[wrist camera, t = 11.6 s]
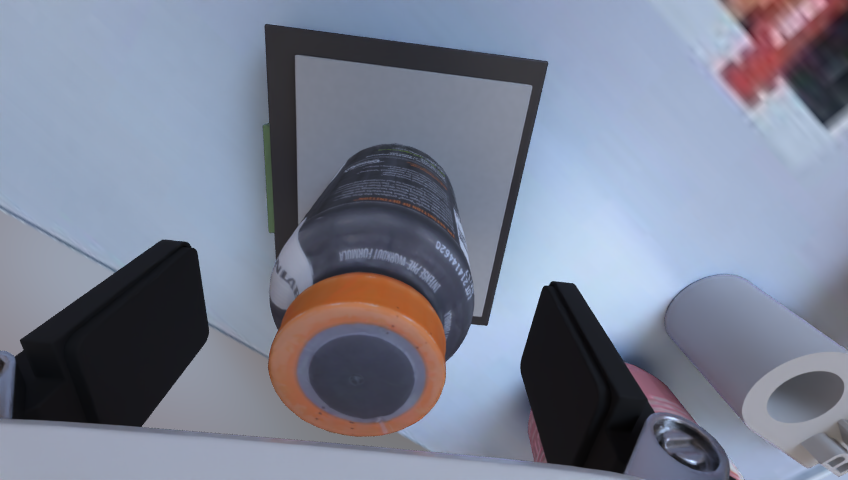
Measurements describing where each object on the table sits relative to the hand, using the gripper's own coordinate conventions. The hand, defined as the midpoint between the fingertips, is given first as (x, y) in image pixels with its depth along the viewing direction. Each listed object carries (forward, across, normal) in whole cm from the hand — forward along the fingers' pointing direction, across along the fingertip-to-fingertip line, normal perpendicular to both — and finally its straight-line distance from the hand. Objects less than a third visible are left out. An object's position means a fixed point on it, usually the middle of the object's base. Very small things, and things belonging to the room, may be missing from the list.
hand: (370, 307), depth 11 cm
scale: (+12, 0, 0) cm, 12 cm away
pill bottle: (+9, 0, 0) cm, 9 cm away
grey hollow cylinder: (+12, -26, +9) cm, 30 cm away
